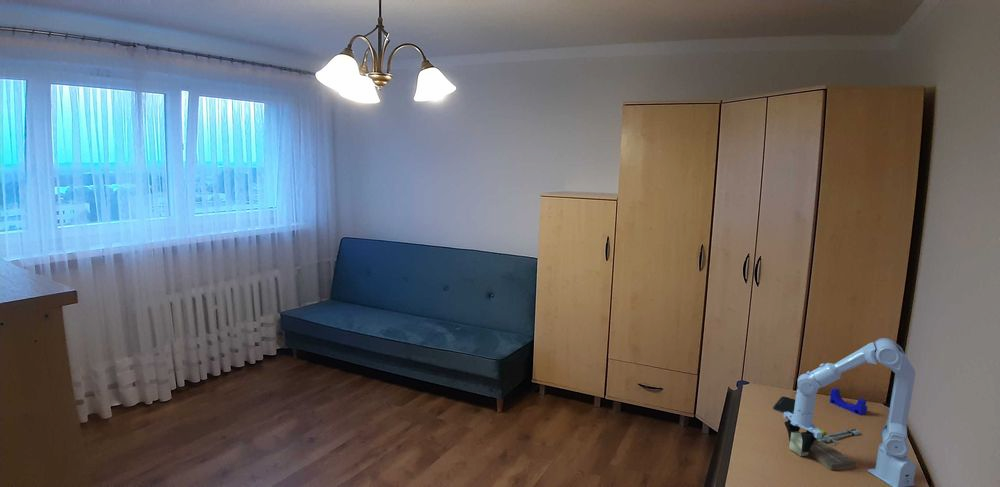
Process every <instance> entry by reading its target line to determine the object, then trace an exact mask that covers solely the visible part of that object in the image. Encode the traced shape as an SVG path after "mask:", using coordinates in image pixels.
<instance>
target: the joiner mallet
mask: <svg viewBox="0 0 1000 487" xmlns="http://www.w3.org/2000/svg"><path fill="white" fill-rule="evenodd" d="M813 444H818V440H815V441H814V443H813ZM813 444H812V445H813ZM788 448H789V449H790V450H791V451H793V452H794V453H796V454H797V455H798V456H799V457H805V456H809V455H808V452H803V451H802V436H801V432H800V430H799V431H797V432H791V438H790V441H789V446H788Z"/></svg>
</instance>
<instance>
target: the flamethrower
mask: <svg viewBox="0 0 1000 487" xmlns="http://www.w3.org/2000/svg"><path fill="white" fill-rule="evenodd" d="M816 428H817V429H818V430H819V431H821V432H822V438H817V439H816V440H818V441H823V442H824V443H829V442H833V443H832V444H830V446H831V447H832V446H834V445H835V444H838V441H837V439H841V438H844V437H849V436H856V437H857V436H859V435H861V432H860V430H858V429H857V430H856V429H855V428H854V429H850V430H848V429H847V430H844V431H840V432H836V433H831V434H827V431H826V430H823V429H822V428H820V427H818V426H816Z"/></svg>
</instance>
